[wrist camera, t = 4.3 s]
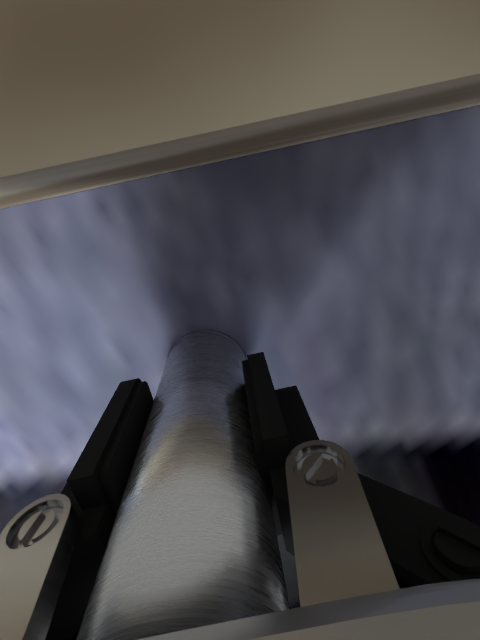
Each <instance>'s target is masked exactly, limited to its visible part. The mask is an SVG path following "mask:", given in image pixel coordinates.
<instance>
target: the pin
mask: <svg viewBox="0 0 480 640" xmlns="http://www.w3.org/2000/svg"><path fill="white" fill-rule="evenodd" d="M244 360H246V359H245V355H244V353H243V351H242V349H241V347H240V346H239V345H238V344H237V343H236V342H235V341H234V340H233V339H232V338H230V337H229V336H227V335H225V334H223V333H220V332H216V331H197V332H193V333H191V334H188V335H186V336H185V337H183V338H181V339H180V340H179V341H178V342H177V343H176V344H175V345H174V346H173V348H172V349H171V351H170V353H169V356H168V359H167V362H166V365H165V368H164V371H163V374H162V378H161V381H160V384H159V387H158V390H157V393H156V396H155V399H154V402H153V405H152V408H151V411H150V414H149V417H148V421H147V424H146V427H145V430H144V433H143V436H142V439H141V442H140V445H139V448H138V451H137V454H136V457H135V460H134V464H133V467H132V470H131V473H130V476H129V479H128V482H127V485H126V488H125V491H124V494H123V497H122V500H121V503H120V506H119V510H118V513H117V516H116V519H115V522H114V525H113V528H112V531H111V534H110V537H109V540H108V543H107V546H106V549H105V553H104V556H103V559H102V562H101V565H100V568H99V571H98V574H97V577H96V580H95V583H94V586H93V589H92V592H91V596H90V599H89V602H88V605H87V608H86V611H85V614H84V617H83V620H82V623H81V626H80V629H79V632H78V635H77V639H76V640H137V639H142V638H147V637H152V636H157V635H162V634H167V633H172V632H177V631H182V630H187V629H192V628H197V627H202V626H207V625H212V624H217V623H222V622H227V621H232V620H237V619H242V618H247V617H252V616H258V615H263V614H268V613H273V612H278V611H283V610H288V609H290V608H289V602H288V597H287V591H286V585H285V580H284V574H283V568H282V563H281V557H280V551H279V546H278V540H277V534H276V529H275V523H274V517H273V512H272V506H271V500H270V495H269V492H268V489H267V486H266V484H265V483H264V481H263V480H262V477H261V473H260V469H259V464H258V460H257V456H256V451H255V447H254V441H253V436H252V429H251V423H250V416H249V409H248V402H247V395H246V388H245V382H244V375H243V368H242V361H244Z"/></svg>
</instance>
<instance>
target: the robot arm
mask: <svg viewBox="0 0 480 640" xmlns="http://www.w3.org/2000/svg"><path fill="white" fill-rule="evenodd" d="M247 358H248V360H244V361H242V368H243V375H244V382H245V388H246V395H247V402H248V409H249V416H250V423H251V429H252V436H253V441H254V447H255V451H256V456H257V460H258V464H259V469H260V473H261V477H262V480H263V481H264V483H265V484H266V486H267V489H268V492H269V495H270V500H271V506H272V512H273V517H274V523H275V529H276V534H277V535H281V534H283V536H284V541H285V546H286V550H287V551H288V552H290V553H291V554H293V555H294V556H295V561H296V570H297V580H298V589H299V598H300V607H298V608H293V609H288V610H283V611H278V612H273V613H268V614H263V615H258V616H252V617H247V618H242V619H237V620H232V621H227V622H222V623H217V624H212V625H207V626H202V627H197V628H192V629H187V630H182V631H177V632H172V633H167V634H162V635H157V636H152V637H147V638H142V639H137V640H480V527H479V526H477V525H475V524H474V523H472V522H470V521H468V520H466V519H464V518H462V517H459V516H457V515H455V514H452V513H450V512H448V511H445V510H443V509H440V508H438V507H436V506H433V505H431V504H429V503H426V502H424V501H422V500H419V499H417V498H415V497H412V496H410V495H408V494H405V493H403V492H401V491H398V490H396V489H393V488H391V487H389V486H386V485H384V484H382V483H379V482H377V481H375V480H372V479H370V478H368V477H365V476H363V475H361V474H358V473H357V471H356V468H355V466H354V463H353V460H352V458H351V457H350V455H349V453H348V452H347V451H346V450H345V449H343V448H342V447H341V446H339V445H337V444H335V443H333V442H329V441H325V440H319V438H318V436H317V433H316V431H315V429H314V426H313V424H312V422H311V419H310V417H309V414H308V412H307V410H306V407H305V405H304V403H303V400H302V398H301V396H300V393H299V391H298V389H297V387H296V386H292V387H287V388H282V389H277V390H274V386H273V383H272V380H271V376H270V373H269V370H268V366H267V363H266V360H265V357H264V353H263V352H261V353H256V354H251V355H247ZM153 402H154V400H153V397H152V395H151V392H150V389H149V386H148V384H147V382H146V381H144V382H142V381H141V380H140V379H139V378H138V379H133V380H128V381H123V382H121V383H120V384H119V386H118V388H117V390H116V391H115V393H114V395H113V397H112V399H111V401H110V402H109V404H108V406H107V408H106V410H105V412H104V413H103V415H102V417H101V419H100V421H99V422H98V424H97V426H96V428H95V430H94V432H93V433H92V435H91V437H90V439H89V441H88V443H87V444H86V446H85V448H84V450H83V452H82V454H81V455H80V457H79V459H78V461H77V463H76V465H75V466H74V468H73V470H72V472H71V474H70V476H69V477H68V479H67V483H66V485H65V487H64V489H63V491H62V493H61V494H52V495H48V496H45V497H43V498H40V499H38V500H36V501H34V502H33V503H31V504H29V505H28V506H26V507H25V508H24V509H23V510H21V511H20V512H19V513H17V514H16V515H15V517H14V518H13V519H12V520H11V521H10V522H9V523H8V524H7V525H6V527H5V528H4V530H3V531H2V533H1V534H0V640H76V639H77V635H78V632H79V629H80V626H81V623H82V620H83V617H84V614H85V611H86V608H87V605H88V602H89V599H90V596H91V592H92V589H93V586H94V583H95V580H96V577H97V574H98V571H99V568H100V565H101V562H102V559H103V556H104V553H105V549H106V546H107V543H108V540H109V537H110V534H111V531H112V528H113V525H114V522H115V519H116V516H117V513H118V510H119V506H120V503H121V500H122V497H123V494H124V491H125V488H126V485H127V482H128V479H129V476H130V473H131V470H132V467H133V464H134V460H135V457H136V454H137V451H138V448H139V445H140V442H141V439H142V436H143V433H144V430H145V427H146V424H147V421H148V417H149V414H150V411H151V408H152V405H153Z"/></svg>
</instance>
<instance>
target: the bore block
mask: <svg viewBox="0 0 480 640" xmlns="http://www.w3.org/2000/svg"><path fill="white" fill-rule="evenodd" d="M478 105H480V0H0V209H1V208H6V207H11V206H15V205H20V204H24V203H29V202H34V201H38V200H43V199H48V198H52V197H57V196H62V195H66V194H71V193H75V192H80V191H85V190H89V189H94V188H99V187H103V186H108V185H112V184H117V183H122V182H126V181H131V180H136V179H140V178H145V177H149V176H154V175H159V174H163V173H168V172H173V171H177V170H182V169H186V168H191V167H196V166H200V165H205V164H210V163H214V162H219V161H223V160H228V159H233V158H237V157H242V156H247V155H251V154H256V153H260V152H265V151H270V150H274V149H279V148H284V147H288V146H293V145H297V144H302V143H307V142H311V141H316V140H321V139H325V138H330V137H334V136H339V135H344V134H348V133H353V132H358V131H362V130H367V129H371V128H376V127H381V126H385V125H390V124H395V123H399V122H404V121H408V120H413V119H418V118H422V117H427V116H432V115H436V114H441V113H446V112H450V111H455V110H459V109H464V108H469V107H473V106H478Z"/></svg>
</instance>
